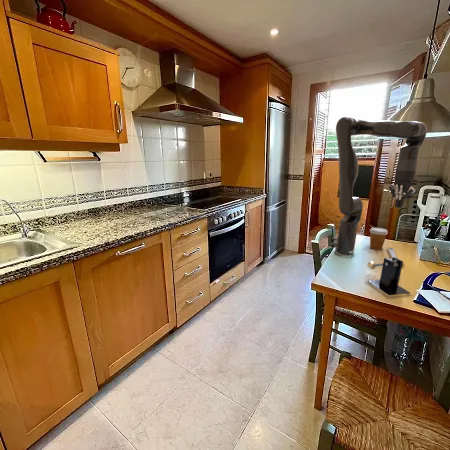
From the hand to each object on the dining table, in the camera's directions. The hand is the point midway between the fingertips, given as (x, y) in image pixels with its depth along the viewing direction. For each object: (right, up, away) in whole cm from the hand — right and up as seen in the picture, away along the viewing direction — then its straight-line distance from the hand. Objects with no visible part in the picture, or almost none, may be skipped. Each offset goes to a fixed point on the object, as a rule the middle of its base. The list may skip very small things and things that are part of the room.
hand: (398, 207), depth 114 cm
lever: (-12, -28, -6) cm, 31 cm away
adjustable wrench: (+14, -27, +23) cm, 38 cm away
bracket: (-11, -36, -9) cm, 38 cm away
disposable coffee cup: (+12, -23, +37) cm, 45 cm away
